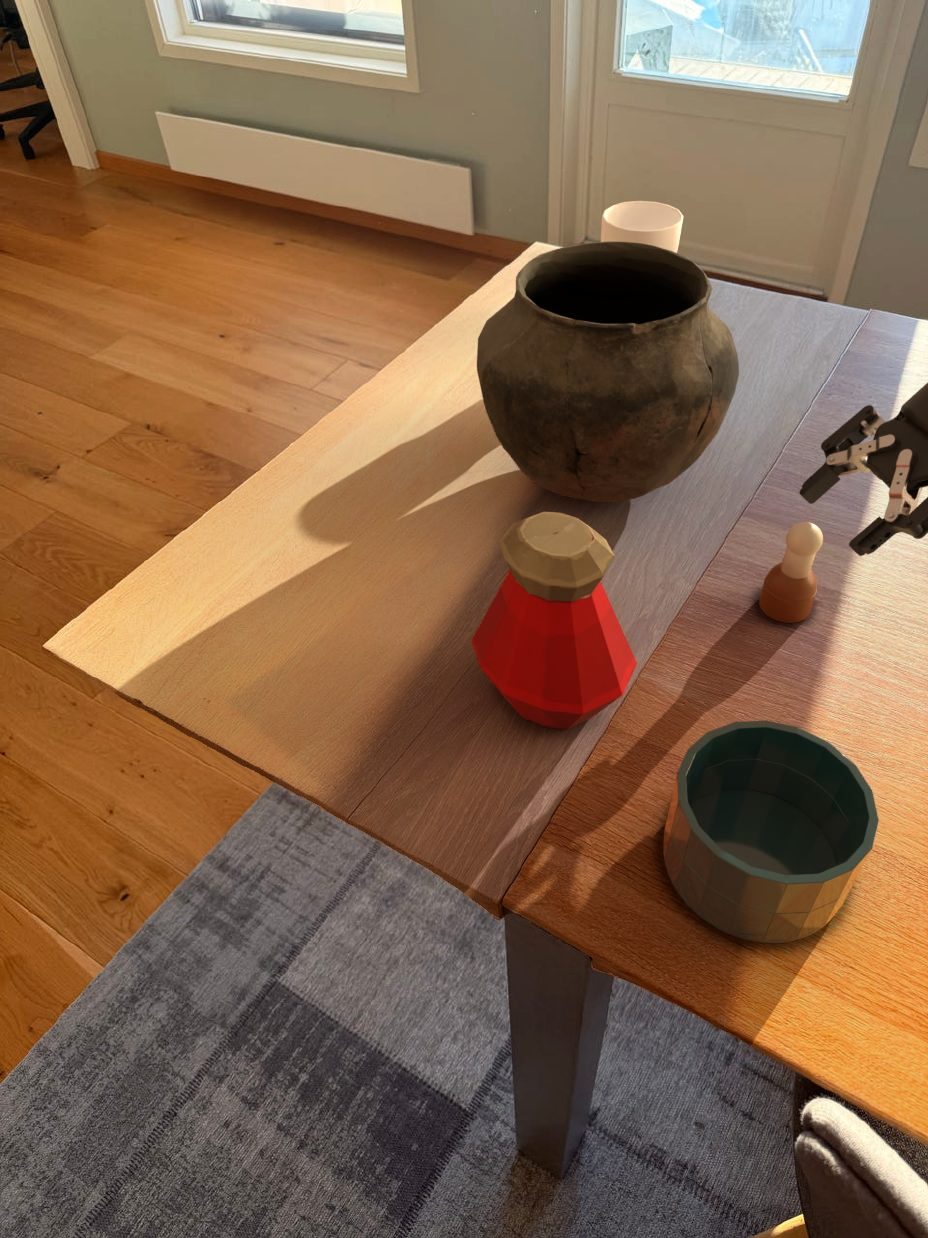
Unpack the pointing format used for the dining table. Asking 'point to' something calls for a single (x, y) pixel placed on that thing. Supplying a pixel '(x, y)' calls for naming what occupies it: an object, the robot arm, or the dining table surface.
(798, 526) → the drumstick
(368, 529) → the dining table surface
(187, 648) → the dining table surface
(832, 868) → the bowl
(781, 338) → the dining table surface
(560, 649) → the bottle
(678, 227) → the cup
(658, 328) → the pot
